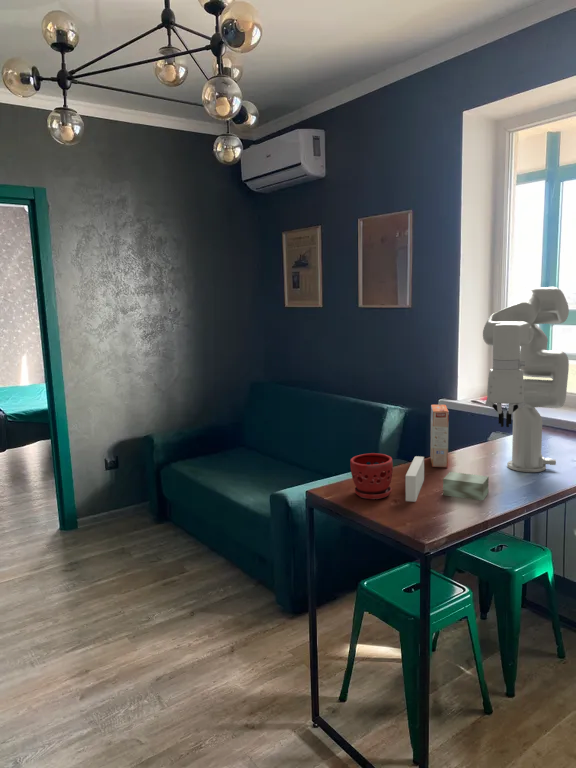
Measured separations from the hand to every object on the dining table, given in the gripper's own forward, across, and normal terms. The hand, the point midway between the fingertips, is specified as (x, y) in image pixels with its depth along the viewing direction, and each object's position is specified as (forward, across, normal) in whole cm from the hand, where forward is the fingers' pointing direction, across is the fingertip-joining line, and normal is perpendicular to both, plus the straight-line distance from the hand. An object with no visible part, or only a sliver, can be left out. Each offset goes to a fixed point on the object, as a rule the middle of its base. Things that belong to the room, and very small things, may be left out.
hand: (504, 425), depth 171 cm
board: (+22, +26, 0) cm, 35 cm away
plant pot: (+22, +39, +8) cm, 46 cm away
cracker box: (+22, +22, -33) cm, 46 cm away
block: (+22, +11, 0) cm, 25 cm away
